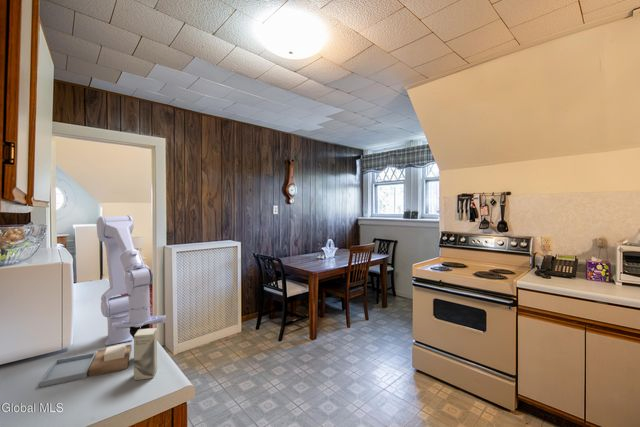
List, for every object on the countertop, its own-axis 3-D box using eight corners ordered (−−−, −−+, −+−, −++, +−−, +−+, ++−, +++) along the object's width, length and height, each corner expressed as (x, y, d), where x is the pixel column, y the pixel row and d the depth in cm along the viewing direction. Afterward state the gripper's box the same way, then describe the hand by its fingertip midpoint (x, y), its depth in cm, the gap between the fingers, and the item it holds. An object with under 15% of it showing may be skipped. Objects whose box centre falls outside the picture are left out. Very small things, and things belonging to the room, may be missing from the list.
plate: (98, 356, 95) (98, 350, 95) (131, 350, 99) (131, 344, 99) (88, 376, 85) (88, 370, 84) (126, 369, 89) (126, 362, 88)
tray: (55, 364, 91) (55, 359, 91) (96, 356, 95) (96, 352, 95) (40, 387, 80) (40, 381, 80) (86, 377, 84) (86, 372, 84)
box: (133, 381, 83) (132, 335, 82) (138, 372, 87) (137, 329, 86) (154, 378, 84) (153, 333, 83) (158, 369, 88) (157, 327, 88)
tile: (107, 353, 93) (107, 347, 93) (126, 349, 96) (126, 343, 95) (104, 361, 89) (103, 354, 89) (124, 357, 91) (123, 351, 91)
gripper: (109, 314, 88) (110, 359, 88) (165, 306, 94) (166, 348, 95) (113, 306, 94) (114, 348, 95) (165, 299, 100) (166, 339, 101)
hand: (140, 348), depth 95 cm, fingers closed
